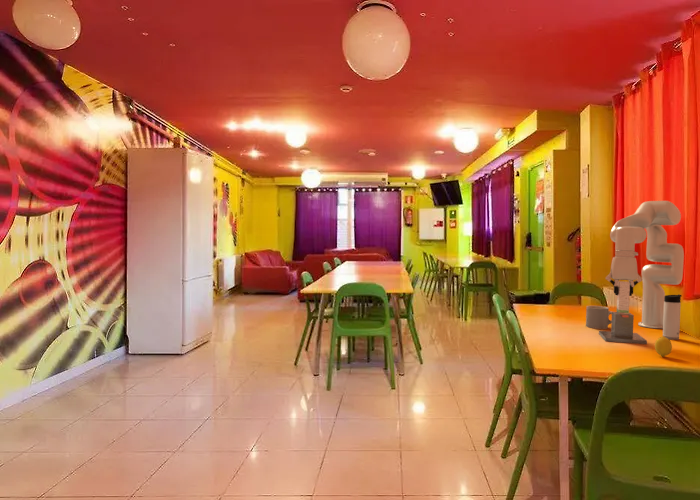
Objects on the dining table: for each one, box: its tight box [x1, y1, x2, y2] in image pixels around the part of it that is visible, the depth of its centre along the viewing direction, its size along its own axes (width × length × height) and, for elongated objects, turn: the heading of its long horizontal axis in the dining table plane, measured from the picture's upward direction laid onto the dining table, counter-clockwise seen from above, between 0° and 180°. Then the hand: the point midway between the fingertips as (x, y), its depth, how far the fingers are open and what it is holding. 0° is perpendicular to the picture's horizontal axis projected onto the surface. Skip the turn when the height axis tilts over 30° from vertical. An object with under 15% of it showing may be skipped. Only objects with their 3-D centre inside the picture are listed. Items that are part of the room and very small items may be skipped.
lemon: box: [654, 335, 673, 358], centre depth 190 cm, size 6×6×8 cm
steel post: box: [616, 280, 630, 315], centre depth 221 cm, size 4×4×18 cm
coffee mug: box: [585, 305, 613, 330], centre depth 247 cm, size 13×10×10 cm
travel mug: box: [662, 294, 683, 341], centre depth 223 cm, size 6×7×20 cm
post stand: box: [598, 311, 648, 345], centre depth 221 cm, size 16×16×12 cm
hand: (623, 294), depth 220 cm, fingers open, 4 cm apart
